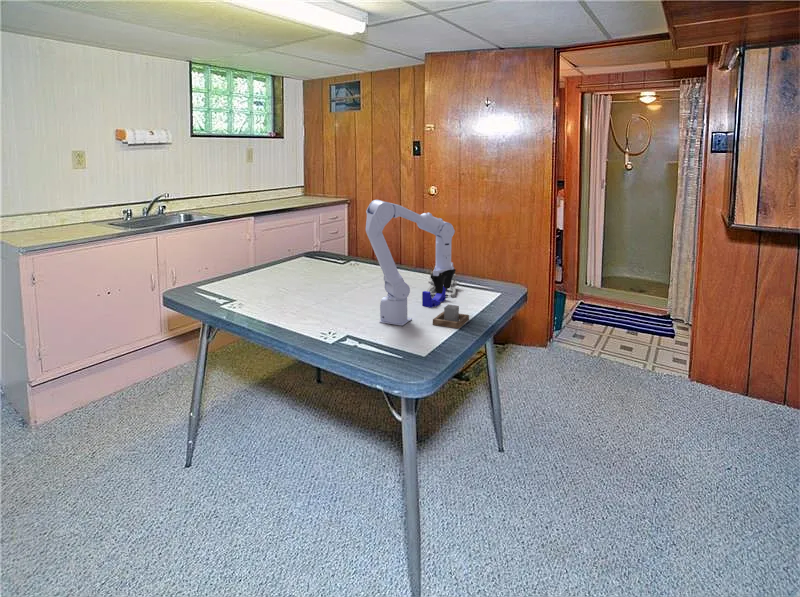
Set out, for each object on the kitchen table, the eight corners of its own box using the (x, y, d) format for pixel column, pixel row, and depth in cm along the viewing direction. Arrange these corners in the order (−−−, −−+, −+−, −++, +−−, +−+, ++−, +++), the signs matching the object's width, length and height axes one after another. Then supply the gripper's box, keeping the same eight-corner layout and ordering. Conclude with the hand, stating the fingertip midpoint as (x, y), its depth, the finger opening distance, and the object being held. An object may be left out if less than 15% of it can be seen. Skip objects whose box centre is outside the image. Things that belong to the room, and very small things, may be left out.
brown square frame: (432, 324, 190) (432, 319, 189) (443, 316, 199) (443, 311, 198) (459, 328, 186) (459, 323, 185) (468, 320, 194) (469, 314, 194)
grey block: (444, 323, 191) (444, 307, 190) (448, 320, 195) (448, 304, 193) (454, 325, 189) (454, 308, 188) (458, 321, 193) (458, 305, 191)
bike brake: (428, 285, 238) (422, 305, 221) (428, 271, 235) (422, 290, 218) (459, 287, 236) (455, 306, 218) (459, 272, 233) (455, 291, 215)
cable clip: (431, 308, 209) (431, 293, 208) (422, 306, 212) (422, 291, 210) (448, 301, 218) (448, 286, 217) (439, 299, 221) (439, 285, 219)
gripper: (446, 259, 186) (445, 296, 190) (460, 251, 199) (460, 286, 202) (427, 257, 189) (427, 294, 193) (443, 250, 202) (442, 285, 206)
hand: (443, 290), depth 198 cm, fingers open, 7 cm apart
